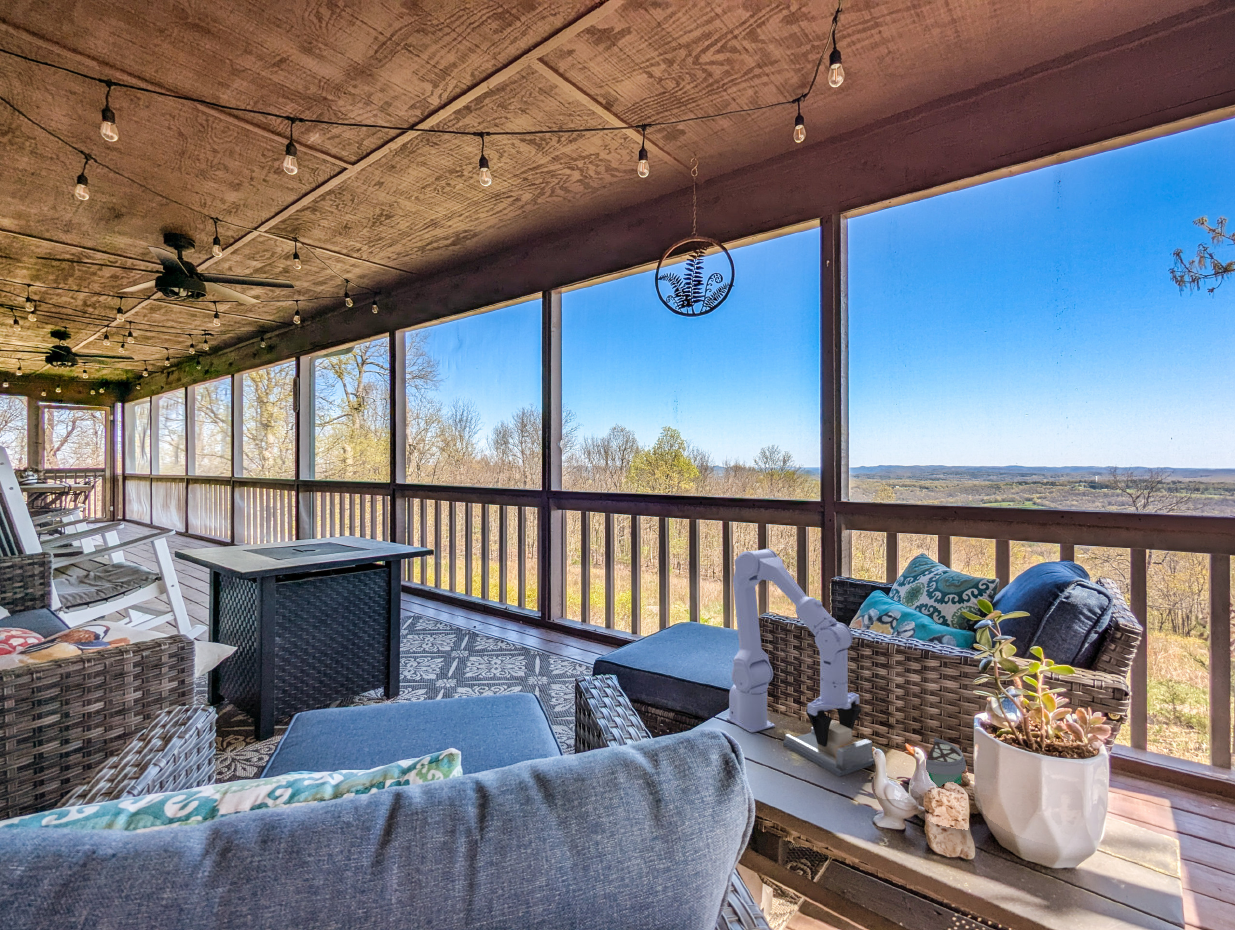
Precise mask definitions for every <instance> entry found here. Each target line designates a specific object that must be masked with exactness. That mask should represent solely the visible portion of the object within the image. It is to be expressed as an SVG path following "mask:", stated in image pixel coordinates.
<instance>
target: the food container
mask: <svg viewBox="0 0 1235 930" xmlns="http://www.w3.org/2000/svg"><path fill="white" fill-rule="evenodd" d="M925 759H926V770H927V772H928V773H929V776H930V778H931V780H932V781H933V782H934V783H935V784H936V785H937V786H938V787H941V786H942V785H943V784H945V783H947V782H954V783H957V784H961V785H962V778H963V777H962V775H963V774H962V773H963V772H965V771H966V770H967V764H966V763H967V762H966V759H965V756H964V754H963V752H962V751H961V749H960V748H959V747H958V746H956V745H954V744H953V743H952V742H949V741H946V740H944V739H940V738H938V737H933V746H932V747H931V748H930V751H929V752H928V756H927V758H925Z"/></svg>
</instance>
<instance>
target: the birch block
mask: <svg viewBox="0 0 1235 930" xmlns="http://www.w3.org/2000/svg"><path fill="white" fill-rule="evenodd" d="M852 739H853V730H852V729H849V728H847V727H845V726H843V725H841V724H839V723H838V722H836V721H834V720H832V721H831V723H830V726H829V731H828V742H827V746H826V747H823V746H822V745H820V744H818V743H817V749H818V750H820V751H822V752H824V753H826V754H828V755H829V756H831V757H833V758H835V759H836V747H840V746H843V745H846V744H849V743H852V742H853V740H852Z"/></svg>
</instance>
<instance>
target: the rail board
mask: <svg viewBox="0 0 1235 930" xmlns="http://www.w3.org/2000/svg"><path fill="white" fill-rule="evenodd" d="M810 730H811V731H810V732H808V733H804V734H801V735H798V736H793V735H792V734H790V733H787V734H784V735H785V736H784V737H785V740H782V745H783V746H784V747H786V748H787V749H789V750H791V751H793V752H795V753H797V754H798V755H800V756H802V757H804V758H806V759H807V760H809V761H811V762H813V763H814V764H817V765H818V766H819V767H822V768H823V769H825V770H827V771H829V772H831V773H833V774H834V775H836V776H837V777H842V776H845V775H848V774H851V773H854V772H856V771H860V770H863V769H865V768H868V767H871V766H873V765H875V759H874V758H873V742H872V740H869V739H868V738H865V739H861V740H859V741H856V742H855V741H854V742H855V743H852V744H849V745H846V746H843V747H840V748H837V749H836V759H835V758H833V757H831V756H829V755H828V754H826V753H824V752H822V751H820V750H818V749H817V740H816V736H815V732H814V729H813V726H811V729H810ZM872 764H873V765H872Z"/></svg>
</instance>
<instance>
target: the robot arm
mask: <svg viewBox="0 0 1235 930" xmlns="http://www.w3.org/2000/svg"><path fill="white" fill-rule="evenodd" d="M734 567H735V568H734V569H735V570H734V575H733V579H732V584H733V585H732V586H733V593H734V594H733V596H734V605H735V616H736V618H735V619H736V626H737V627H736V629H737V636H738V637H737V638H738V648H739V650H738V651H737V653H736V654H735V656H734V658H733V659H732V661H733V662H732V664H733V667H732V669H731V670H732V671H731V679H732V682H733V685H732V686H731V688H730V689H729V692H728V693H729V694H728V695H729V696H728V698H729V699H728V700H729V701H728V705H729V706H728V708H729V709H728V716H726V720H728V721H730V722H732V723H733V724H735V725H736V726H738V727H740V728H741V729H744V730H745V731H747V732H749V733H756V732H760V731H762V730H766V729H767V730H768V729H770V728H774V727H775V726H776V724H774V723H773V722H771V721H769V720H768V688H769V684H770V683H771V682H772V680H773V679H774V678H773V677H774V670H773V668H772V665H771V663H770V660H769V654H768V653H766V652H765V651H764V649H763V648H762V639H761V632H760V631H761V630H760V621H759V611H758V601H757V592H756V587H757V585H758V584H760V582H761V581H762V580H764V581H769V582H772V583H773V584H774V585H775V586H777V588H778V589H779V590H780V591H781V592H782V593H783V594H784V595H785V596H786V597H787V598H788V599H789V600H790V601H791V602H792V603H793V604H794V606H795V614H796V615H797V616H798V618H800V620H801V621H802V622H803V624H804V625H805V626H806V627H807V628H808V629H809V631H810V632H811V633H812V634H813V635H814V636H815V637H814V642H815V645H816V647H817V648H818V651H819V658H820V659H819V661H820V662H819V663H820V664H819V665H820V666H819V668H820V672H819V674H820V675H819V677H820V678H819V679H820V680H819V683H820V684H819V686H820V687H819V688H820V689H819V693H820V694H819V697H817V698H815V699H814V700H813V701H811V702H808V703H807V709H806V710H805V712H806V716H807V717H808V719H809V721H810V723H811V727H813V729H814V732H815V736H816V740H817V743H818V744H820V745H822V746H823V747H826V746H827V742H828V731H829V726H830V723H831V721H833V718H832V717H830V716H828V715H827V713H826V712H828V711H830V710H831V711H832V710H837V715H838V721H839V723H838V724H841V725H843V726H845V727H847V728H849V729H852V731H853V730H854V727H855V723H856V721H857V719H858V717H859V715H860V714H861V712H862V707H861V706H859V704H860V695H859V694H857V693H855V692H853V691H852V692H848V682H849V681H848V678H849V676H848V675H849V673H848V672H849V671H848V669H849V667H848V661H849V660H848V659H849V657H848V652H849V651H848V648H849V647H851V645H852V644H853V639H854V638H853V634H852V632H851V630H850V629H849V627H848V625H846V624H845V623H843V622H839V621H838V620H836V618H835V617H832V615H831V614H830V613H829V612H828V611H827V610H826V608H825V607H823V602H821V600H820V599H816V598H815V597H811V596H807V595H806V593H805V592H804V591H803V589H802V588H801V587H800V586H799V584H798V583H797V581H796V580H795V579H794V578H793V577H792V575H791V574H790V573H789V571H788V570H787V569H786V568H785V565H784V562H783V559H782V558H781V557H780V556H778V554H777V553H776V551H774V550H773V549H771V548H763V549H760V550H759V549H758V550H757V549H756V550H750V551H749V550H745V551H742V552H741V553H740V554H739V555H737V557H736V558H735V559H734ZM857 704H858V705H857Z"/></svg>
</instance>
